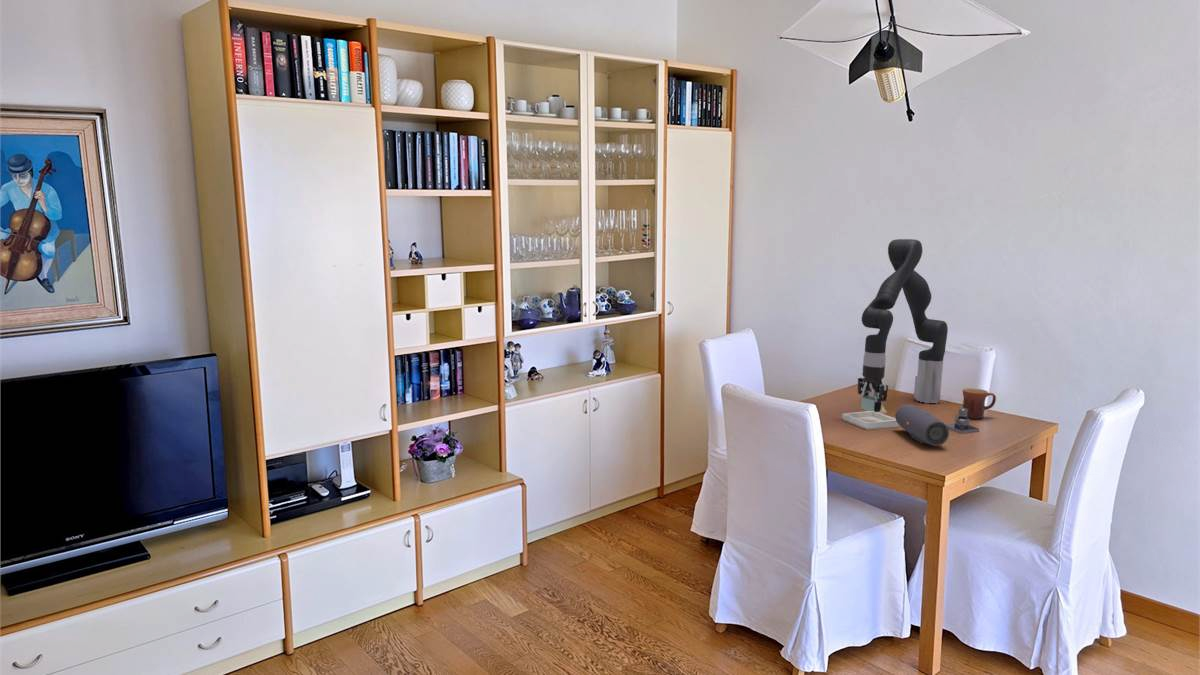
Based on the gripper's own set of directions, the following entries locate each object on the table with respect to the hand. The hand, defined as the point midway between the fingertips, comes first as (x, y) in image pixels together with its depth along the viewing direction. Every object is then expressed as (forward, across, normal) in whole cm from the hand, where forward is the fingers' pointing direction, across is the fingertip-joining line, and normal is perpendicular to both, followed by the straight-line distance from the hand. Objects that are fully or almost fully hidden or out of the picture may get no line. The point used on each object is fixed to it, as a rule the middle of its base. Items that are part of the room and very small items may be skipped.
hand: (870, 409), depth 300 cm
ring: (0, 0, 0) cm, 0 cm away
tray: (+5, 0, 0) cm, 5 cm away
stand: (+5, +17, +26) cm, 32 cm away
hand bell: (+5, -13, +13) cm, 19 cm away
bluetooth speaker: (+6, +22, +3) cm, 23 cm away
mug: (+5, +6, +44) cm, 45 cm away
